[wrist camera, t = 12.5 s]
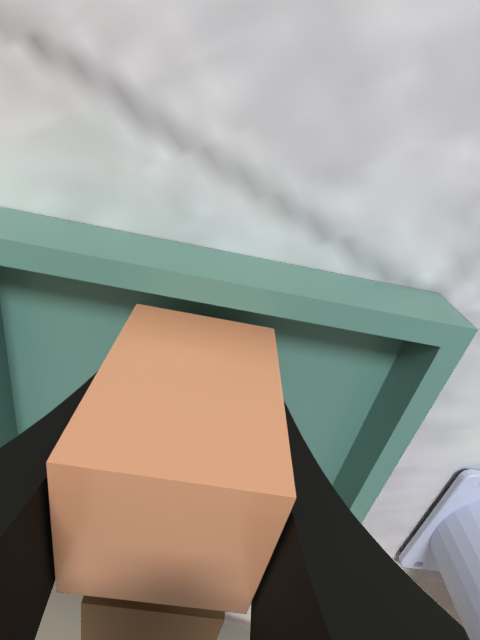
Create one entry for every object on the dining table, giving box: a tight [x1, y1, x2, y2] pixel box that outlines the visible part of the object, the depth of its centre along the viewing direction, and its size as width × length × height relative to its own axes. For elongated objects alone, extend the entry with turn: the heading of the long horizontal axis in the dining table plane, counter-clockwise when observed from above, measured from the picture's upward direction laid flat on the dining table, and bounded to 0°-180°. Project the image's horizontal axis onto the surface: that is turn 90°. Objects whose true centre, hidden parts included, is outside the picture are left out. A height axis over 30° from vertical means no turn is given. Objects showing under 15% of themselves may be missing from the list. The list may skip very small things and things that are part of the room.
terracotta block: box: [46, 304, 296, 614], centre depth 10 cm, size 4×4×6 cm
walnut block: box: [81, 595, 225, 640], centre depth 15 cm, size 4×4×6 cm
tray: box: [0, 207, 478, 523], centre depth 15 cm, size 16×16×2 cm
